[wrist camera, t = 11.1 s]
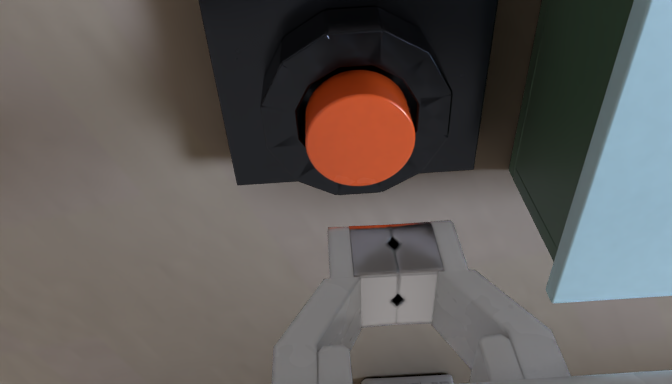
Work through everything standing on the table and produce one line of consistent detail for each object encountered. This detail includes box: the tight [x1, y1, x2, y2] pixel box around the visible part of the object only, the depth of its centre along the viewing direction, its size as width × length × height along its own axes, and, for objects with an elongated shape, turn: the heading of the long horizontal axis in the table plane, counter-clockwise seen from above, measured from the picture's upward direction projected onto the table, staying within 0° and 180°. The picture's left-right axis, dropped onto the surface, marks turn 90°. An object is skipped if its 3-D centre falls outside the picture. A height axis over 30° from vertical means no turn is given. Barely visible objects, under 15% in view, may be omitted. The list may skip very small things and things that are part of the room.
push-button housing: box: [198, 0, 498, 195], centre depth 20 cm, size 10×8×4 cm
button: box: [305, 70, 415, 186], centre depth 18 cm, size 4×4×2 cm
